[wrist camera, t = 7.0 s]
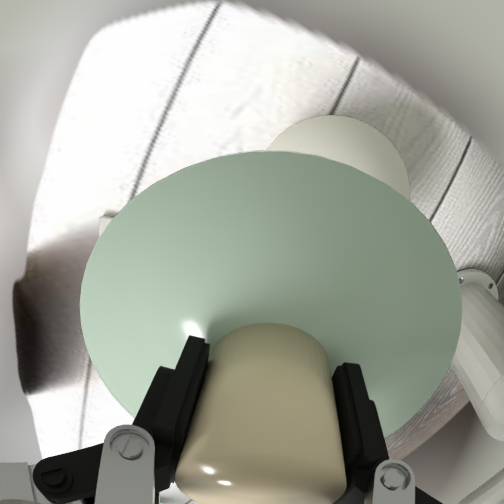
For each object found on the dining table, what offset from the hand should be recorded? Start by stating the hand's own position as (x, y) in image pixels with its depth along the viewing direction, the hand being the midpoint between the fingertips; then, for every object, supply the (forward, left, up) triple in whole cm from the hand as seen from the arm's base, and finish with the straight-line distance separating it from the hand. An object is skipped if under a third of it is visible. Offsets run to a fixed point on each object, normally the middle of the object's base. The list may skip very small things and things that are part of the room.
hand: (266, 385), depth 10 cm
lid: (0, 0, -2) cm, 2 cm away
